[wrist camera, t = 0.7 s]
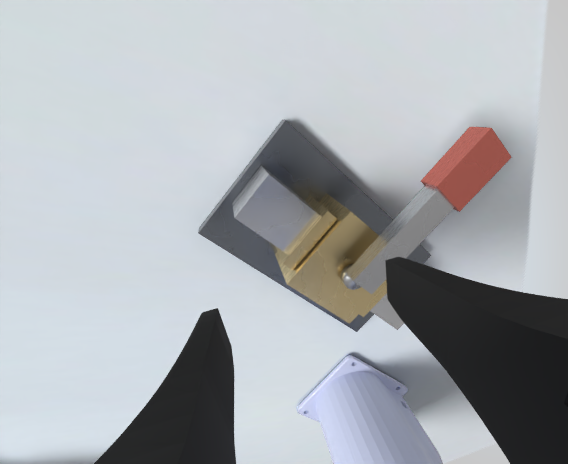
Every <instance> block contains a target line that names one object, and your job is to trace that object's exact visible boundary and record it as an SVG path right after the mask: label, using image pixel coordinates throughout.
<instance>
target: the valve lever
mask: <svg viewBox="0 0 568 464" xmlns="http://www.w3.org/2000/svg"><path fill="white" fill-rule="evenodd" d="M510 158H511V156H510V154H509V153H508V151H507V150H506V148H505V147H504V145H503V144H502V142H501V141H500V140H499V138H498V137H497V135H496V134H495V132H494V131H493V129H492V128H486V127H469V128H468V129H467V131H466V132H465V133H464V134H463V135H462V136H461V137H460V138H459V139H458V140H457V142H456V143H455V144H454V145H453V146H452V147H451V148H450V149H449V150H448V151H447V153H446V154H445V155H444V156H443V157H442V158H441V159H440V160H439V161H438V162H437V164H436V165H435V166H434V167H433V168H432V169H431V170H430V171H429V172H428V173H427V175H426V176H425V177H424V178H423V179H422V180H421V182H422V183H423V184H424V185H425V186H424V187H423V188H422V189H421V190H420V192H419V193H418V194H417V195H416V196H415V197H414V198H413V199H412V200H411V201H410V203H409V204H408V205H407V206H406V207H405V208H404V209H403V210H402V211H401V212H400V213H399V215H398V216H397V217H396V218H395V219H394V220H393V221H392V222H391V223H390V224H389V225H388V227H387V228H386V229H385V230H384V231H383V232H382V233H381V234H380V235H379V236H378V238H377V239H376V240H375V241H374V242H373V243H372V244H371V245H370V246H369V247H368V248H367V250H366V251H365V252H364V253H363V254H362V255H361V256H360V257H359V258H358V259H357V260H356V262H355V263H354V264H350V265H348V266H346V267H345V268H344V269H343V270H342V272H341V280H342V282H343V283H344V284H345V286H346V287H347V288H348V289H351V290H355V289H359V288H360V287H362V288H364V289H365V290H366V291H368V292H369V293H370V294H373V293H374V292H375V290H376V289H377V288H378V287H379V286H380V285H381V284H382V283H383V282H384V281H385V280H386V263H385V260H388V259H392V258H395V257H402V258H405V259H406V258H407V257H408V256H409V255H410V254H411V253H412V252H413V251H414V250H415V248H416V247H417V246H418V245H419V244H420V243H421V242H422V241H423V240H424V239H425V238H426V237H427V236H428V235H429V234H430V233H431V232H432V231H433V230H434V229H435V227H436V226H437V225H438V224H439V223H440V222H441V221H442V220H443V219H444V218H445V217H446V216H447V215H448V214H449V213H450V212H451V211H452V210H453V209H454V210H457V211H459V212H460V211H461V210H462V208H463V207H464V206H465V205H466V204H467V203H468V202H469V201H470V200H471V199H472V198H473V197H474V196H475V195H476V194H477V193H478V192H479V191H480V190H481V189H482V188H483V187H484V186H485V184H486V183H487V182H488V181H489V180H490V179H491V178H492V177H493V176H494V175H495V174H496V173H497V172H498V171H499V170H500V169H501V168H502V167H503V166H504V165H505V164H506V163H507V162H508V160H509V159H510Z"/></svg>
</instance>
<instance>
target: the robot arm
mask: <svg viewBox="0 0 568 464" xmlns="http://www.w3.org/2000/svg"><path fill="white" fill-rule="evenodd" d="M385 263H386V283H387V299H388V301H389V302H390V304H391V305H392V307H393V309H394V310H395V311H396V313H397V314H398V316H399V317H400V319H401V320H402V321H403V322H404V323H405V324H406V325H407V327H408V328H409V329H410V330H411V331H412V332H413V333H414V335H415V336H416V337H417V338H418V339H419V340H420V341H421V342H422V343H423V345H424V346H425V347H426V348H427V349H428V350H429V351H430V352H431V353H432V355H433V356H434V357H435V358H436V359H437V360H438V361H439V362H440V364H441V365H442V366H443V367H444V368H445V370H446V371H447V372H448V374H449V375H450V376H451V378H452V379H453V380H454V382H455V383H456V384H457V386H458V387H459V388H460V390H461V391H462V392H463V394H464V395H465V397H466V398H467V400H468V401H469V402H470V404H471V405H472V407H473V408H474V409H475V411H476V412H477V414H478V415H479V417H480V418H481V419H482V421H483V422H484V424H485V425H486V427H487V428H488V430H489V431H490V433H491V434H492V436H493V437H494V439H495V441H496V442H497V444H498V445H499V447H500V448H501V449H502V451H503V453H504V454H505V456H506V457H507V459H508V460H509V462H510V464H568V299H561V298H554V297H547V296H540V295H535V294H528V293H523V292H518V291H513V290H508V289H504V288H499V287H495V286H491V285H487V284H483V283H479V282H476V281H472V280H469V279H465V278H462V277H459V276H455V275H452V274H449V273H446V272H443V271H440V270H437V269H435V268H432V267H429V266H426V265H423V264H420V263H417V262H415V261H412V260H409V259H405V258H402V257H395V258H392V259H388V260H385ZM407 391H408V389H407V387H406V386H405V385H403V384H402V383H400V382H398V381H396V380H395V379H393V378H391V377H389V376H388V375H386V374H384V373H382V372H380V371H379V370H377V369H375V368H373V367H372V366H370V365H368V364H366V363H365V362H363V361H361V360H359V359H358V358H356V357H354V356H352V355H348V356H347V357H345V358H344V359H343V360H342V361H341V362H340V363H339V364H338V366H337V367H336V368H335V369H334V370H333V371H332V372H331V373H330V374H329V375H328V376H327V377H326V378H325V379H324V380H323V381H322V382H321V383H320V384H319V385H318V386H317V387H316V388H315V389H314V390H313V391H312V392H311V393H310V394H309V395H308V396H307V397H306V398H305V399H304V400H303V401H302V402H301V403H300V404H299V405H298V406H297V412H298V413H299V414H301V415H303V416H306V417H308V418H311V419H313V420H316V421H318V422H320V424H321V427H322V430H323V433H324V436H325V439H326V442H327V446H328V449H329V452H330V455H331V458H332V461H333V464H443V463H442V460H441V457H440V455H439V453H438V451H437V449H436V448H435V446H434V445H433V443H432V442H431V440H430V438H429V437H428V435H427V434H426V432H425V431H424V429H423V428H422V426H421V425H420V423H419V421H418V420H417V418H416V417H415V415H414V414H413V412H412V411H411V409H410V408H409V406H408V405H407V403H406V401H405V400H404V398H403V397H402V396H403V395H405V394H406V393H407ZM94 464H236V457H235V446H234V365H233V356H232V348H231V344H230V341H229V338H228V336H227V333H226V330H225V327H224V325H223V322H222V319H221V316H220V313H219V311H218V308H217V309H213V310H210V311H206V312H203V313H202V314H201V316H200V318H199V320H198V322H197V324H196V326H195V328H194V330H193V331H192V333H191V335H190V337H189V339H188V341H187V343H186V345H185V346H184V348H183V350H182V352H181V354H180V355H179V357H178V359H177V360H176V362H175V364H174V365H173V367H172V368H171V370H170V372H169V373H168V375H167V377H166V378H165V380H164V381H163V383H162V384H161V385H160V387H159V388H158V390H157V391H156V393H155V394H154V395H153V397H152V398H151V399H150V401H149V402H148V403H147V404H146V406H145V407H144V408H143V409H142V411H141V412H140V413H139V414H138V415H137V417H136V418H135V419H134V420H133V421H132V423H131V424H130V425H129V426H128V427H127V429H126V430H125V431H124V432H123V433H122V434H121V436H120V437H119V438H118V439H117V440H116V441H115V442H114V443H113V444H112V445H111V446H110V448H109V449H108V450H107V451H106V452H105V453H104V454H103V455H102V456H101V457H100V458H99V459H98V460H97V461H96V462H95V463H94Z"/></svg>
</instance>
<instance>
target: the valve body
mask: <svg viewBox="0 0 568 464" xmlns="http://www.w3.org/2000/svg"><path fill="white" fill-rule="evenodd" d="M392 221H393V219H391V218H390V217H389V216H388V215H387V214H386V213H385V212H384V211H383V210H382V209H381V208H380V207H379V206H377V205H376V204H375V203H374V202H373V201H372V200H371V199H370V198H369V197H368V196H367V195H366V194H365V193H363V192H362V191H361V190H360V189H359V188H358V187H357V186H356V185H355V184H354V183H353V182H352V181H351V180H349V179H348V178H347V177H346V176H345V175H344V174H343V173H342V172H341V171H340V170H339V169H338V168H337V167H335V166H334V165H333V164H332V163H331V162H330V161H329V160H328V159H327V158H326V157H325V156H324V155H323V154H321V153H320V152H319V151H318V150H317V149H316V148H315V147H314V146H313V145H312V144H311V143H310V142H309V141H307V140H306V139H305V138H304V137H303V136H302V135H301V134H300V133H299V132H298V131H297V130H296V129H295V128H293V127H292V126H291V125H290V124H289V123H288V122H287V121H286V120H282V121H281V122H280V124H279V125H278V126H277V127H276V129H275V130H274V131H273V133H272V134H271V135H270V137H269V138H268V139H267V140H266V142H265V143H264V144H263V146H262V147H261V148H260V149H259V151H258V152H257V153H256V155H255V156H254V157H253V159H252V160H251V161H250V162H249V164H248V165H247V166H246V168H245V169H244V170H243V172H242V173H241V174H240V175H239V177H238V178H237V179H236V181H235V182H234V183H233V185H232V186H231V187H230V188H229V190H228V191H227V192H226V194H225V195H224V196H223V198H222V199H221V200H220V201H219V203H218V204H217V205H216V207H215V208H214V209H213V211H212V212H211V213H210V214H209V216H208V217H207V218H206V220H205V221H204V222H203V224H202V225H201V226H200V227H199V232H198V233H199V234H200V235H202V236H204V237H205V238H207V239H208V240H210V241H212V242H213V243H215V244H216V245H218V246H220V247H221V248H223V249H225V250H226V251H228V252H229V253H231V254H233V255H234V256H236V257H237V258H239V259H241V260H242V261H244V262H245V263H247V264H249V265H250V266H252V267H253V268H255V269H257V270H258V271H260V272H261V273H263V274H265V275H266V276H268V277H269V278H271V279H273V280H274V281H276V282H277V283H279V284H281V285H282V286H284V287H285V288H287V289H289V290H290V291H292V292H294V293H295V294H297V295H298V296H300V297H302V298H303V299H305V300H306V301H308V302H310V303H311V304H313V305H314V306H316V307H318V308H319V309H321V310H322V311H324V312H326V313H327V314H329V315H330V316H332V317H334V318H335V319H337V320H338V321H340V322H342V323H343V324H345V325H346V326H348V327H350V328H351V329H353V330H354V331H356V332H357V331H358V330H359V329H360V328H361V327H362V326H363V325H364V324H365V323H366V322H367V321H368V320H369V319H370V318H371V317H372V316H373V315H374V314H375V315H377V316H378V317H380V318H381V319H383V320H384V321H385V322H387V323H388V324H390V325H391V326H393V327H394V328H396V329H397V330H398V329H399V328H400V327H401V326H402V325H403V324H404V322H403V321H402V320H401V319H400V317H399V316H398V314H397V313H396V311H395V310H394V309H393V307H392V305H391V304H390V302H389V301H388V299H387V283H386V280H385V281H384V282H383V283H382V284H381V285H380V286H379V287H378V288H377V289H376V290H375V292H374V293H373V294H370V293H369V292H368V291H366V290H365V289H364V288H362V287H360V288H359V289H355V290H351V289H348V288H347V287H346V286H345V284H344V283H343V282H342V280H341V272H342V270H343V269H344V268H345V267H346V266H348V265H350V264H354V263H355V262H356V260H357V259H358V258H359V257H360V256H361V255H362V254H363V253H364V252H365V251H366V250H367V248H368V247H369V246H370V245H371V244H372V243H373V242H374V241H375V240H376V239H377V238H378V236H379V235H380V234H381V233H382V232H383V231H384V230H385V229H386V228H387V227H388V225H389V224H390V223H391V222H392ZM430 256H431V255H430V254H429V253H428V252H427V251H426V250H425V249H424V248H423V247H422V246H421V245H420V244H419V245H418V246H417V247H416V248H415V250H414V251H413V252H412V253H411V254H410V255H409V256H408V257H407V258H406V259H409V260H412V261H415V262H417V263H420V264H423V263H424V262H425V261H426V260H427V259H428V258H429V257H430Z"/></svg>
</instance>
